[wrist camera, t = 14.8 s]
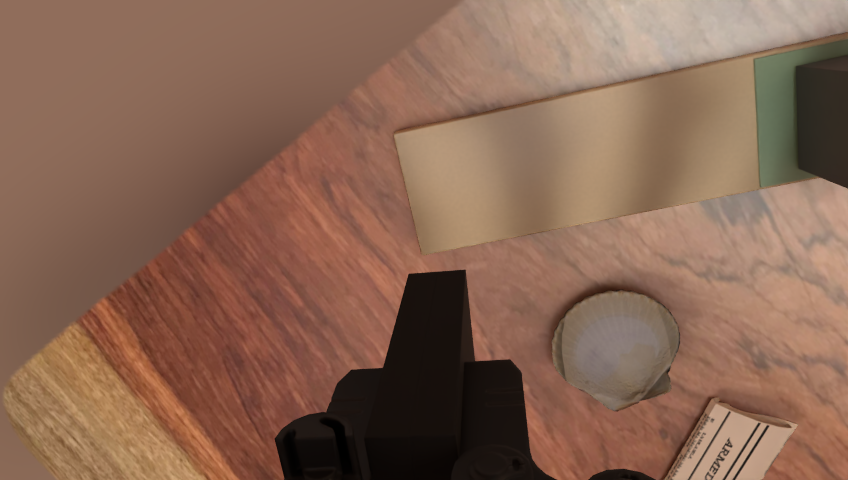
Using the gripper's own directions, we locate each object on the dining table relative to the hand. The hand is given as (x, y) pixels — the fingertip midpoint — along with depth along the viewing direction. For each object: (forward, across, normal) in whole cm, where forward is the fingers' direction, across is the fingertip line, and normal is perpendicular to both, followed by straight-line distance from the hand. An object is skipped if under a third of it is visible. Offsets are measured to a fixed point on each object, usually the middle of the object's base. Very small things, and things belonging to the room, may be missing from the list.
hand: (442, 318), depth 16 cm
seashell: (+23, +8, -15) cm, 29 cm away
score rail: (+24, +11, -1) cm, 26 cm away
